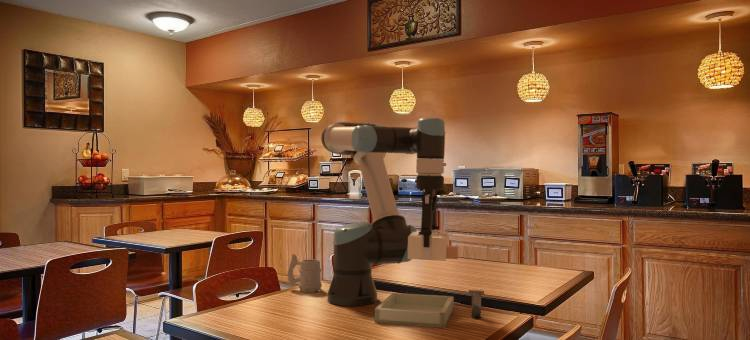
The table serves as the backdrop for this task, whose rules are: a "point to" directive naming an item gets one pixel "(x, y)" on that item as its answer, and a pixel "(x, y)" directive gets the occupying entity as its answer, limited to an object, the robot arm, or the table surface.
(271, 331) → the table surface
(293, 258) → the mug
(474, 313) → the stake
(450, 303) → the tray
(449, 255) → the beige recessed block
